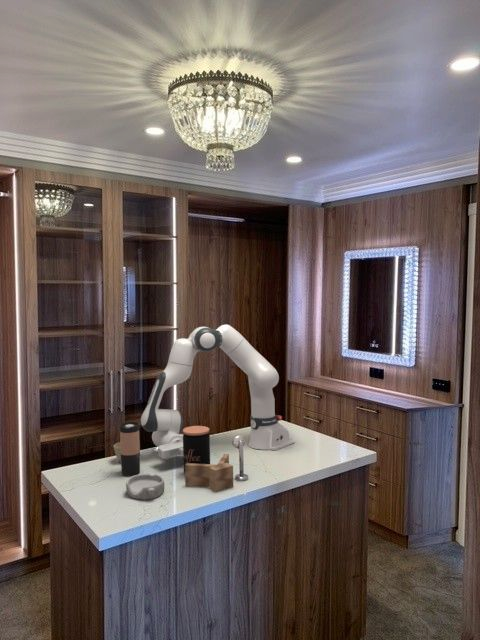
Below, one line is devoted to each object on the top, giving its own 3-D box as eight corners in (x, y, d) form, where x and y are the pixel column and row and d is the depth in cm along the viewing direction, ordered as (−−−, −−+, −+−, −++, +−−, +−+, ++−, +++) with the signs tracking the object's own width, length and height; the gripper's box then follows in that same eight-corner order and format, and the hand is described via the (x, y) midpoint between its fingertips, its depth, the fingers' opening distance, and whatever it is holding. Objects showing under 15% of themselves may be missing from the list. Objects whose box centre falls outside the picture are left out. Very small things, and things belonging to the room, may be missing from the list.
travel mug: (134, 468, 200) (132, 420, 199) (144, 473, 195) (142, 424, 193) (117, 473, 195) (116, 424, 194) (127, 478, 189) (126, 428, 188)
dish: (157, 502, 168) (157, 488, 167) (119, 500, 170) (119, 486, 170) (170, 485, 182) (170, 472, 182) (135, 484, 184) (134, 471, 184)
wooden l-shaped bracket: (227, 472, 193) (226, 453, 193) (246, 482, 183) (245, 462, 182) (183, 484, 182) (183, 464, 181) (201, 496, 171) (200, 474, 171)
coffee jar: (178, 474, 193) (177, 429, 192) (198, 466, 200) (197, 424, 199) (195, 481, 185) (194, 434, 184) (216, 473, 193) (215, 428, 192)
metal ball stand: (243, 475, 191) (242, 434, 190) (250, 479, 186) (250, 437, 186) (232, 478, 188) (231, 436, 187) (240, 482, 184) (239, 439, 183)
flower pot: (131, 465, 203) (131, 449, 203) (109, 464, 205) (109, 447, 205) (141, 457, 213) (140, 441, 213) (120, 456, 215) (119, 440, 215)
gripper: (152, 442, 202) (167, 450, 191) (194, 433, 214) (211, 440, 202) (152, 456, 202) (167, 466, 191) (195, 447, 214) (211, 455, 203)
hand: (190, 453), depth 197 cm, fingers closed, pressing on coffee jar
